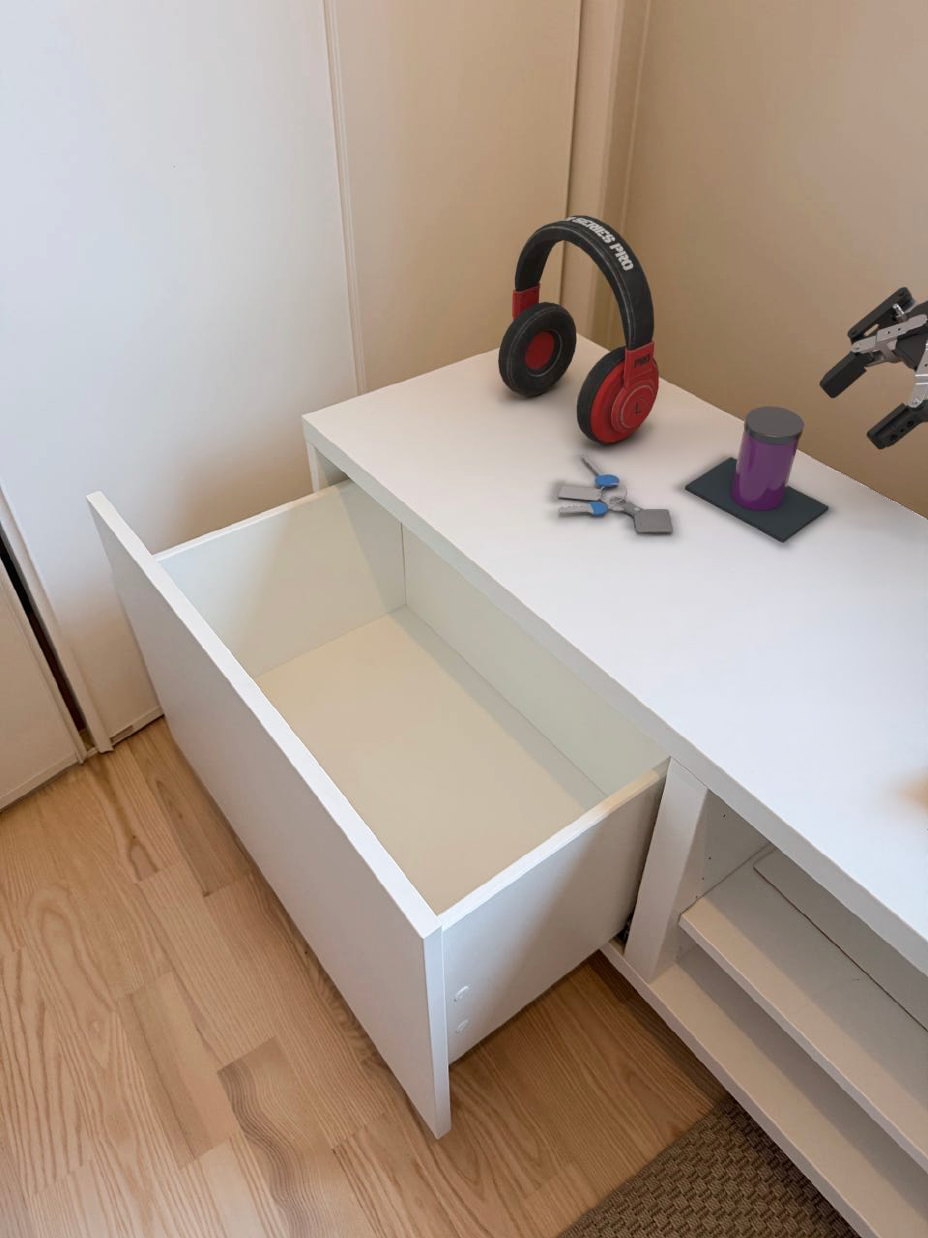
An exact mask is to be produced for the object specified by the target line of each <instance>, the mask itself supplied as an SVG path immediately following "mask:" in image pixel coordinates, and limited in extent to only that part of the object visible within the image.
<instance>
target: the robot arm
mask: <svg viewBox="0 0 928 1238" xmlns="http://www.w3.org/2000/svg"><path fill="white" fill-rule="evenodd" d="M876 325H877V327H876V328H875V329H873V330H872V331H871V332H869V333H868V334H866V333H867V332H868V331H870V330H871V329H872V328H873V327H875V326H876ZM846 336H847V338H848V339H849V340H850V345H851V347H850V350H849V352H848V353H847V354H846V355H845V356H844V357H843V358H842V359H841V360H839V361H838V362H837V363H836V364H835V365H834V366H833V367H831V368H830V369H829V370H828V371H827V372H826V373H824V375H823V377H822V379H821V380H820V381H819V385H818V386H819V387H820V388H821V389H822V390H823V392H824V393H825V394H826V395H827V396H828V397H829V398H831V399H835V398H837V397H838V396H840V395H841V394H842V393H843V392H845V390H847V389H848V388H849V387H850V386H852V385H853V383H856V381H858V380H859V379H860V377H862V376H863V375H864V374H865V373H866V372H868V370H867V369H866V368H871V367H875V366H879V365H882V364H885V363H890V364H899V363H903V365H904V366H906V367H907V368H908V369H910V370H912V371H913V373H915V374H914V386H913V388H912V390H911V392H910V395H909V398H908V400H907V405H906V404H904V402H901V403H900V404H899V405H897V406H896V407H895V408H894V409H893V410H892V411H890V412H889V413H887V415H886V416H884V417H883V418H882V419H881V420H879V421H878V422H877V423H876V424H874V426H872V427H871V428H870V429H869V430H868V431H867V432H866V438H867V439H868V440H869V441H870V443H872V445H874V447H875V448H876V449H877V450H879V451H880V450H881V451H883V450H884V449H886V448H890V447H892V446H894V445H895V444H897V443H898V442H899V441H900V440H902V439H903V438H904V437H906V436H907V435H908V434H910V433H911V431H913V430H914V429H916V428H917V427H918V426H919V425H921V424H924V423H928V299H927V300H924V301H923V302H921V303H919V302H918V301H917V300H916V298H915V297H914V295H913V294H912V292H911V291H910V290H909V288H908V287H907V286H901V287H899V288H898V289H896V291H894V292H893V293H892V294H891V295H890V296H888V297H887V298H886V299H884V301H882V302H881V303H880V304H878V305H877V306H876V307H875V308H873V309H872V310H871V311H870V312H869V313H868V314H866V315H865V316H864V317H863V318H861V319H860V320H859V321H858V322H857V323H855V324H854V325H853V326H851V327H850V328H849V330H848V331H847V333H846ZM895 341H896V342H895Z"/></svg>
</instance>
